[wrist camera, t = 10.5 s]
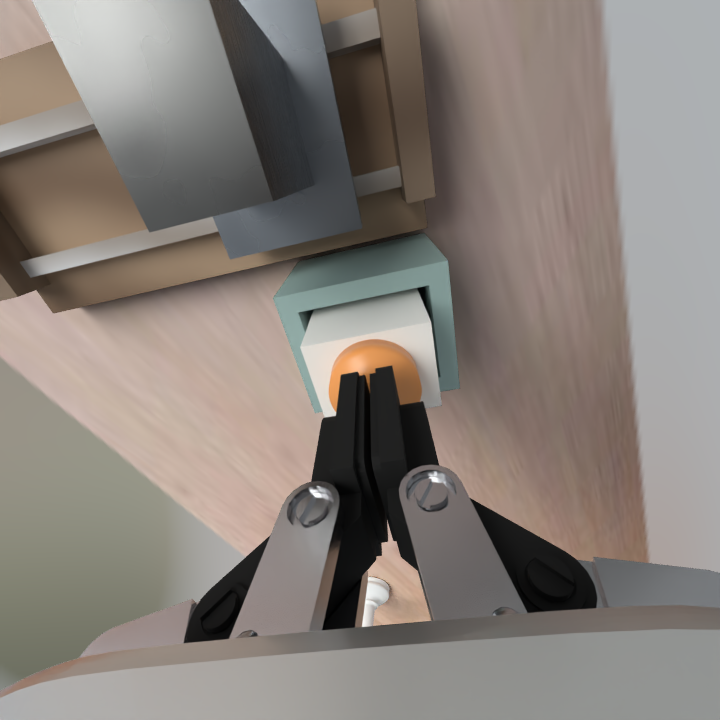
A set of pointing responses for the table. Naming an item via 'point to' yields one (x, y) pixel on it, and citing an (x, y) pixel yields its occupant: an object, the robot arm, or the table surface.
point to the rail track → (201, 238)
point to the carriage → (215, 113)
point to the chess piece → (374, 599)
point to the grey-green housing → (372, 294)
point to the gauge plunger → (373, 347)
